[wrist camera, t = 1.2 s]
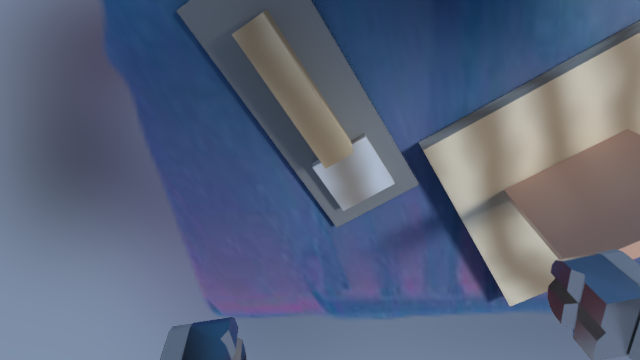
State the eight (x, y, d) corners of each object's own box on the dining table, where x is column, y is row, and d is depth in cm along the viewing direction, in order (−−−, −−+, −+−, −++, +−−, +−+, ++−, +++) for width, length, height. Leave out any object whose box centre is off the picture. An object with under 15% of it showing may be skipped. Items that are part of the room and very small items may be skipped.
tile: (627, 128, 36) (755, 192, 26) (631, 141, 37) (757, 209, 26) (503, 189, 39) (572, 268, 29) (509, 200, 40) (578, 282, 29)
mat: (273, -64, 31) (273, -64, 31) (417, 181, 41) (419, 184, 41) (178, 10, 34) (176, 10, 33) (336, 224, 44) (336, 227, 43)
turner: (281, -2, 33) (278, 1, 30) (393, 179, 40) (398, 193, 38) (224, 39, 34) (216, 45, 31) (343, 205, 42) (344, 221, 39)
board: (650, 14, 34) (668, 17, 32) (694, 213, 43) (711, 223, 41) (418, 142, 39) (423, 150, 37) (503, 294, 49) (510, 306, 47)
